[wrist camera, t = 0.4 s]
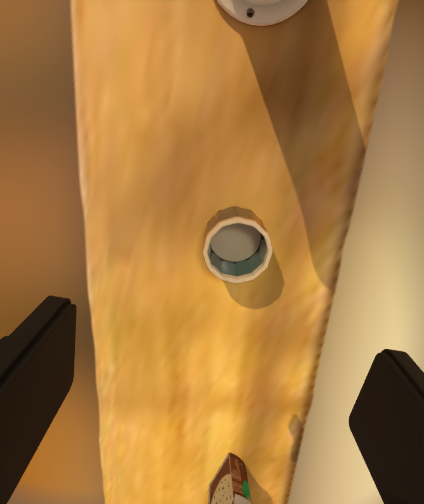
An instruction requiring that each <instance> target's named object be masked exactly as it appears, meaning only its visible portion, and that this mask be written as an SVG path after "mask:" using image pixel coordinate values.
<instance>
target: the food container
mask: <svg viewBox="0 0 424 504" xmlns="http://www.w3.org/2000/svg"><path fill="white" fill-rule="evenodd" d="M208 504H252V503H251V498H250V492H249V486H248V480H247V474H246V469H245V465H244V463H243V461H242V460H241V459H240V458H239V457H237V456H236V455H234V454H231V453H229V454H228V455H227V457H226V458H225V460H224V462H223V463H222V465H221V467H220V468H219V470H218V472H217V473H216V475H215V476H214V478H213V480H212V481H211V483H210V485H209V503H208Z"/></svg>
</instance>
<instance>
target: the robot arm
mask: <svg viewBox="0 0 424 504" xmlns="http://www.w3.org/2000/svg"><path fill="white" fill-rule="evenodd" d="M307 1H308V0H217V2H218V3H219V5H220V6H221V7H222V8H223V9H224V10H225V11H226V12H227V13H228V14H229V15H231V16H232V17H234V18H235V19H237V20H239V21H241V22H244V23H246V24H249V25H256V26H266V25H273V24H276V23H279V22H282V21H284V20H286V19H287V18H289V17H291V16H292V15H294V14H295V13H296V12H297V11H298V10H300V9H301V8H302V7H303V6H304V5H305V4H306V2H307ZM248 13H251V14H252V17H248V16H247V14H248ZM75 331H76V305H74V304H71V301H70V299H68V298H62V297H56V296H48V297H47V298H46V299H45V300H44V301H43V302H42V303H41V304H40V305H39V306H38V307H37V308H36V309H35V310H34V311H33V312H32V313H31V314H30V315H29V316H28V317H27V318H26V319H25V320H24V321H23V322H22V323H21V324H20V325H19V326H18V328H16V329H15V330H14V331H13V333H11V334H10V335H9V336H5V337H3V338H2V339H0V504H7V502H8V501H9V499H10V497H11V495H12V494H13V492H14V490H15V488H16V486H17V485H18V483H19V481H20V479H21V477H22V475H23V473H24V472H25V470H26V468H27V466H28V464H29V463H30V461H31V459H32V457H33V455H34V453H35V452H36V450H37V448H38V446H39V444H40V442H41V441H42V439H43V437H44V435H45V433H46V432H47V430H48V428H49V426H50V424H51V423H52V421H53V419H54V417H55V415H56V414H57V412H58V410H59V408H60V406H61V404H62V403H63V401H64V399H65V397H66V395H67V394H68V392H69V390H70V388H71V385H72V382H73V377H74V357H75ZM349 427H350V429H351V432H352V434H353V436H354V439H355V441H356V443H357V445H358V447H359V450H360V452H361V454H362V456H363V458H364V460H365V463H366V465H367V467H368V469H369V471H370V474H371V476H372V478H373V480H374V482H375V485H376V487H377V489H378V491H379V494H380V496H381V498H382V500H383V502H384V504H424V372H423V371H422V370H421V369H420V368H419V367H418V365H416V363H415V362H414V361H413V360H412V359H411V357H410V356H409V355H408V354H407V353H405V352H403V351H396V350H390V349H384V350H383V351H382V352H381V353H378V354H377V355H376V356H375V359H374V361H373V363H372V366H371V368H370V370H369V373H368V375H367V377H366V379H365V382H364V384H363V386H362V388H361V391H360V393H359V396H358V398H357V400H356V403H355V405H354V407H353V409H352V412H351V414H350V416H349Z"/></svg>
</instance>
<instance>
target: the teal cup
mask: <svg viewBox="0 0 424 504" xmlns="http://www.w3.org/2000/svg"><path fill="white" fill-rule="evenodd" d="M261 235H262V236H261ZM272 251H273V250H272V246H271V242H270V238H269V235H268V233H267V231H266V229H265V227H264V225H263V223H262V221H261V220H260V219H259V218H258V217H257V216H256V215H255V214H254V213H253V212H252V211H250V210H248V209H244V208H240V207H236V206H235V207H231V208H227V209H224V210H220V211H218V212H217V213H216V214H215V215H214V216H213V218H212V219H211V220H210V221H209V222H208V224H207V228H206V232H205V236H204V246H203V255H204V258H205V261H206V264H207V267H208V269H209V270H210V271H211V272H212V273H214V274H215V275H216V276H217V277H218V278H219V279H221V280H224V281H229V282H233V283H241V282H245V281H249V280H253V279H255V278H256V277H257V276H259V275H260V274H261V273H262V272H263V271H264V270H265V269H266V268H267V267H268V264H269V261H270V258H271V255H272Z"/></svg>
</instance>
